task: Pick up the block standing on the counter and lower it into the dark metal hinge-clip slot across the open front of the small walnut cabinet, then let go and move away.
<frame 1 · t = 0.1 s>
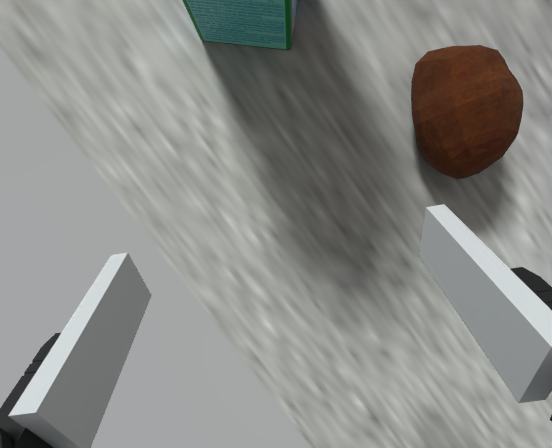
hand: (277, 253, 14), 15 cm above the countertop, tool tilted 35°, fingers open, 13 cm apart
potato: (440, 123, 29), on the countertop
milk carton: (252, 3, 30), on the countertop
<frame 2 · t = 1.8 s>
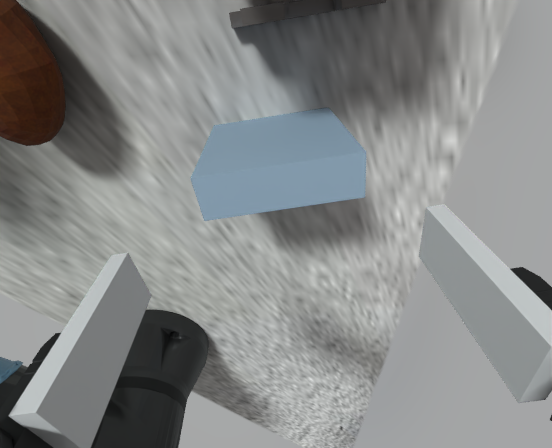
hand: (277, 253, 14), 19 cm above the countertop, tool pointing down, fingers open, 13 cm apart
potato: (35, 61, 26), on the countertop
block: (273, 133, 30), on the countertop
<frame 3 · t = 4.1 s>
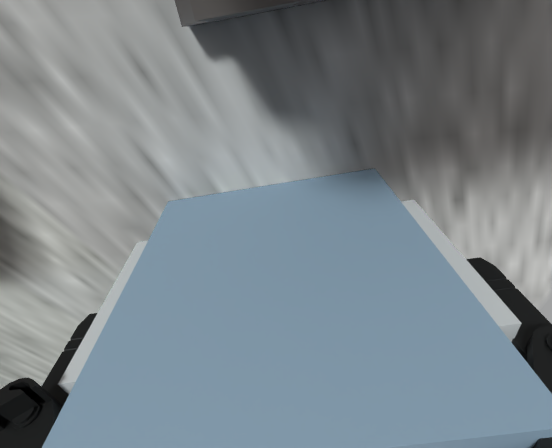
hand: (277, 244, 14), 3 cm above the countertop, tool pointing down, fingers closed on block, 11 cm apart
block: (274, 210, 17), on the countertop, touching gripper
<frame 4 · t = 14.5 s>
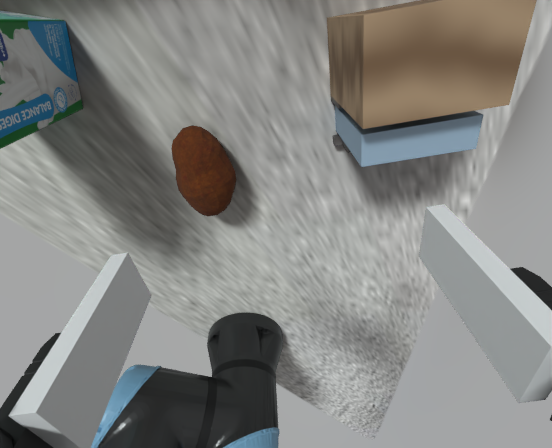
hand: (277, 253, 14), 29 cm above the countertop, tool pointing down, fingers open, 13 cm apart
potato: (209, 162, 42), on the countertop
milk carton: (33, 61, 34), on the countertop
block: (378, 111, 38), resting in cabinet
cabinet: (381, 49, 35), on the countertop
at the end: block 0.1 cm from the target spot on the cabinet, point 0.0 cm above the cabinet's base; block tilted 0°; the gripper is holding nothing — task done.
